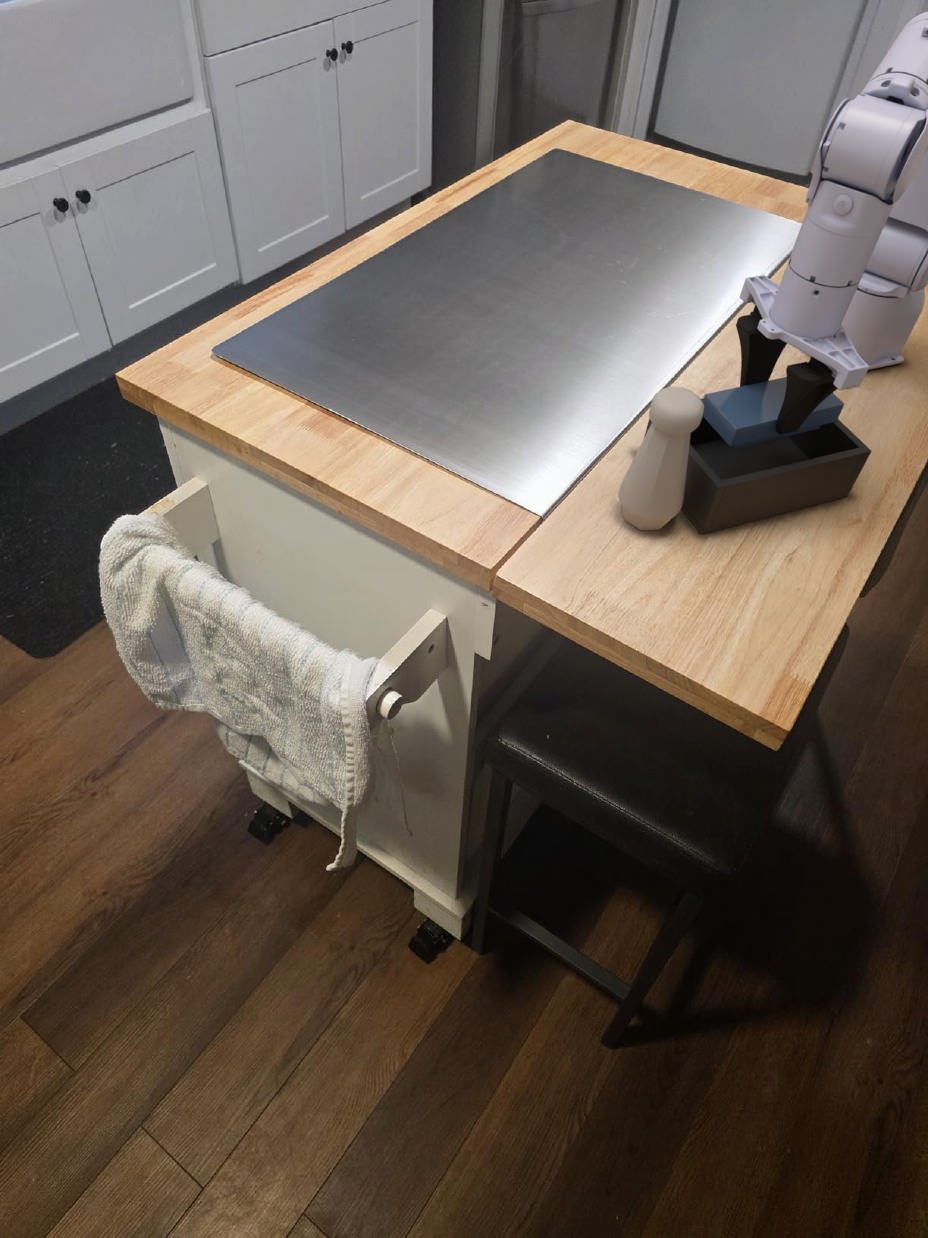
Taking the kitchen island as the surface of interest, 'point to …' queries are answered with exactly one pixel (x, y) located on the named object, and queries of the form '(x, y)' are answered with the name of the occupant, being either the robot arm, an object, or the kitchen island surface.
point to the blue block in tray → (760, 412)
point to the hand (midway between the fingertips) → (767, 410)
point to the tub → (767, 474)
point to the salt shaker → (661, 460)
